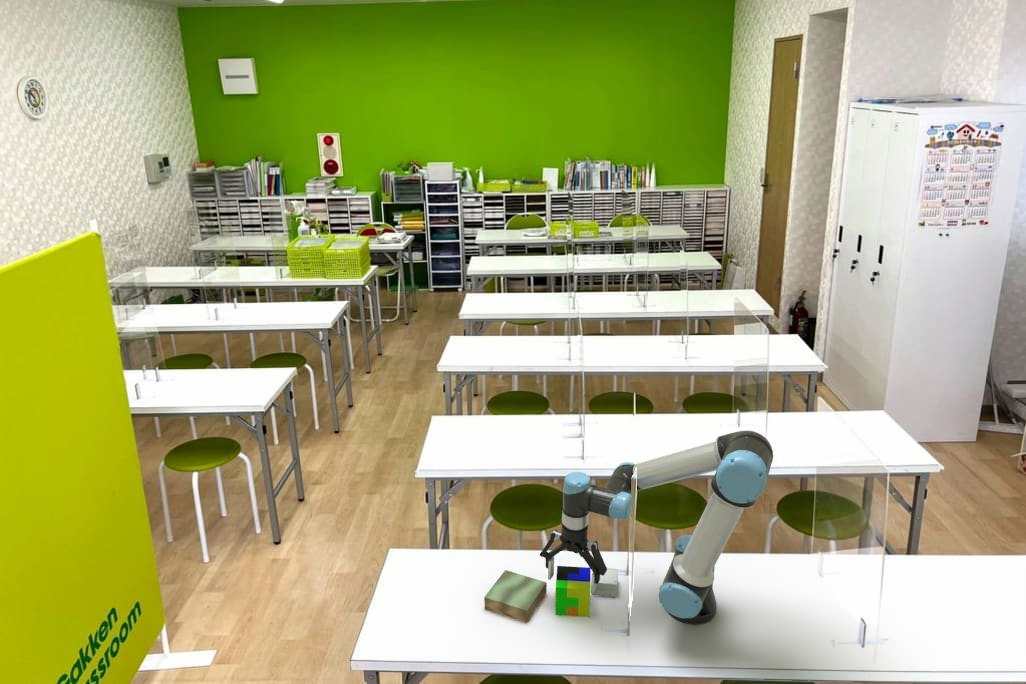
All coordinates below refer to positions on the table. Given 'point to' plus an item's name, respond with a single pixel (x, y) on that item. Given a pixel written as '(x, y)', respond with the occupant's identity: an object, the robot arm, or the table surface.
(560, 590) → the puzzle toy
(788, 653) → the table surface
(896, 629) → the table surface
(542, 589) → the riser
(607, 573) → the small box
